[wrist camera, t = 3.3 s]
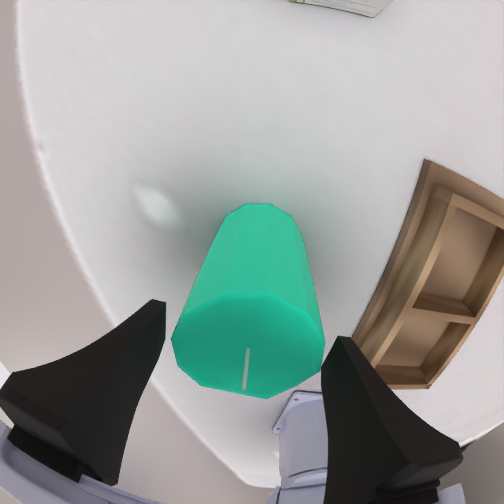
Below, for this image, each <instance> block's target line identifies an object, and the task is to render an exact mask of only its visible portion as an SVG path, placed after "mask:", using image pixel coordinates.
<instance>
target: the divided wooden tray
mask: <svg viewBox="0 0 504 504" xmlns="http://www.w3.org/2000/svg"><path fill="white" fill-rule="evenodd" d="M503 275H504V200H503V199H501V198H500V197H498V196H496V195H495V194H493V193H491V192H490V191H488V190H486V189H484V188H483V187H481V186H479V185H477V184H475V183H474V182H472V181H470V180H468V179H466V178H464V177H462V176H460V175H459V174H457V173H455V172H453V171H451V170H449V169H447V168H444V167H442V166H440V165H438V164H436V163H434V162H432V161H429V160H426V159H424V163H423V166H422V170H421V173H420V177H419V180H418V183H417V186H416V189H415V192H414V196H413V199H412V201H411V204H410V207H409V210H408V213H407V216H406V219H405V221H404V224H403V227H402V229H401V232H400V235H399V237H398V240H397V242H396V245H395V247H394V250H393V252H392V255H391V257H390V259H389V262H388V264H387V266H386V269H385V271H384V273H383V276H382V278H381V280H380V282H379V284H378V287H377V289H376V291H375V293H374V295H373V297H372V299H371V301H370V303H369V305H368V307H367V309H366V311H365V313H364V315H363V317H362V319H361V321H360V323H359V325H358V327H357V329H356V331H355V333H354V335H353V336H352V340H353V341H354V342H355V343H356V345H357V346H358V348H359V349H360V350H361V352H362V353H363V354H364V356H365V357H366V358H367V360H368V361H369V363H370V364H371V365H372V367H373V368H374V369H375V371H376V372H377V373H378V375H379V376H380V377H381V378H382V380H383V381H384V382H385V383H386V384H387V386H388V387H389V388H390V389H429V388H430V386H431V385H432V384H433V383H434V382H435V380H436V379H437V378H438V377H439V376H440V374H441V373H442V372H443V371H444V369H445V368H446V367H447V365H448V364H449V363H450V361H451V360H452V359H453V357H454V356H455V355H456V353H457V352H458V351H459V349H460V348H461V346H462V345H463V344H464V342H465V341H466V339H467V338H468V336H469V335H470V333H471V332H472V330H473V329H474V327H475V325H476V324H477V322H478V321H479V319H480V317H481V316H482V314H483V312H484V311H485V309H486V307H487V306H488V304H489V302H490V300H491V298H492V297H493V295H494V293H495V291H496V289H497V287H498V285H499V283H500V281H501V279H502V277H503Z"/></svg>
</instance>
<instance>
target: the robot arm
mask: <svg viewBox="0 0 504 504" xmlns="http://www.w3.org/2000/svg"><path fill="white" fill-rule="evenodd" d="M165 334H166V302H162V301H158V300H154V299H151V300H150V301H149V302H147V303H146V304H145V305H144V306H143V307H141V308H140V309H139V310H138V311H136V312H135V313H134V314H133V315H131V316H130V317H129V318H128V319H126V320H125V321H124V322H122V323H121V324H120V325H118V326H117V327H116V328H114V329H113V330H112V331H110V332H109V333H107V334H106V335H104V336H103V337H101V338H100V339H98V340H96V341H95V342H93V343H91V344H90V345H88V346H86V347H85V348H83V349H81V350H79V351H77V352H74V353H73V354H70V355H68V356H66V357H63V358H61V359H59V360H56V361H54V362H51V363H48V364H45V365H41V366H38V367H35V368H31V369H26V370H22V371H17V372H13V373H12V374H11V375H10V376H9V378H8V379H7V380H6V382H5V383H4V385H3V386H2V388H1V389H0V407H1V408H2V410H3V411H4V412H5V413H6V415H7V416H8V417H9V418H10V419H11V421H12V422H13V423H14V424H15V425H14V427H13V428H12V429H11V428H10V427H8V426H7V425H6V424H5V423H3V422H2V421H1V420H0V488H1V489H2V490H4V491H5V492H6V493H7V494H9V495H10V496H11V497H12V498H14V499H15V500H16V501H17V502H19V503H20V504H164V503H160V502H156V501H153V500H149V499H146V498H143V497H139V496H137V495H133V494H131V493H128V492H125V491H122V490H120V489H117V488H114V487H112V486H113V485H116V484H117V483H118V478H119V473H120V468H121V462H122V458H123V454H124V449H125V445H126V441H127V438H128V434H129V430H130V427H131V424H132V420H133V417H134V414H135V411H136V407H137V405H138V402H139V400H140V397H141V395H142V393H143V391H144V389H145V387H146V384H147V382H148V380H149V378H150V376H151V374H152V372H153V370H154V367H155V365H156V363H157V361H158V359H159V356H160V353H161V350H162V347H163V344H164V341H165ZM321 389H322V394H317V393H306V392H295V393H294V394H293V395H292V397H291V399H290V400H289V402H288V404H287V406H286V407H285V409H284V411H283V413H282V414H281V416H280V418H279V419H278V421H277V423H276V425H275V426H274V428H273V429H272V432H273V433H274V434H280V456H279V471H280V476H281V478H282V479H281V486H277V487H275V488H274V490H273V491H272V492H271V493H270V495H269V497H268V501H267V504H466V503H465V498H464V495H463V490H462V486H461V484H460V483H459V484H456V485H454V486H451V487H448V488H446V489H443V490H441V491H439V492H437V489H436V487H438V486H439V485H440V481H439V478H441V477H442V476H444V475H445V474H447V473H448V472H450V471H451V470H453V469H454V468H455V467H457V466H458V465H459V464H460V463H461V462H462V460H463V456H462V452H461V449H460V446H459V443H458V442H456V441H455V440H453V439H451V438H449V437H447V436H446V435H444V434H442V433H441V432H439V431H437V430H436V429H435V428H433V427H432V426H430V425H429V424H427V423H426V422H425V421H423V420H422V419H421V418H420V417H419V416H417V415H416V414H415V413H414V412H413V411H412V410H410V409H409V408H408V407H407V406H406V405H405V404H404V403H403V402H402V401H401V400H400V399H399V398H398V397H397V396H396V395H395V394H394V393H393V391H392V390H391V389H390V388H389V387H388V386H387V384H386V383H385V382H384V381H383V380H382V378H381V377H380V376H379V375H378V373H377V372H376V371H375V369H374V368H373V367H372V365H371V364H370V363H369V361H368V360H367V358H366V357H365V356H364V354H363V353H362V352H361V350H360V349H359V348H358V346H357V345H356V343H355V342H354V341H353V340H352V338H351V337H344V336H337V338H336V340H335V342H334V344H333V346H332V348H331V350H330V352H329V354H328V356H327V357H326V359H325V361H324V363H323V365H322V366H321Z"/></svg>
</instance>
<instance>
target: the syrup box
mask: <svg viewBox="0 0 504 504" xmlns="http://www.w3.org/2000/svg"><path fill="white" fill-rule="evenodd" d="M290 1H293V2H301V3H307V4H314V5H320V6H325V7H330V8H336V9H340V10H345V11H349V12H354V13H358V14H362V15H366V16H369V17H375V16H376V15H377V14H378V13H379V12H381V11H382V10H383V9H384V8H385V7H386V6H388V5H389V4H390V3H391V2H393V1H394V0H290Z"/></svg>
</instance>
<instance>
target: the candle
mask: <svg viewBox="0 0 504 504" xmlns="http://www.w3.org/2000/svg"><path fill="white" fill-rule="evenodd" d="M171 341H172V345H173V349H174V353H175V357H176V361H177V365H178V367H179V368H181V369H182V370H183V371H184V372H185V373H186V374H187V375H189V376H190V377H191V378H192V379H193V380H195V381H196V382H197V383H198V384H199V385H201V386H204V387H209V388H214V389H219V390H224V391H229V392H235V393H239V394H244V395H248V396H253V397H258V398H263V399H268V398H270V397H273V396H275V395H277V394H279V393H281V392H284V391H286V390H288V389H290V388H292V387H294V386H297V385H298V384H300V383H302V382H303V381H305V380H306V379H308V378H310V377H311V376H313V375H314V374H316V373H317V372H319V371H320V369H321V363H322V358H323V353H324V347H325V338H324V332H323V327H322V323H321V318H320V313H319V308H318V303H317V299H316V294H315V290H314V285H313V281H312V276H311V272H310V267H309V263H308V259H307V255H306V251H305V246H304V242H303V238H302V234H301V232H300V231H299V229H298V227H297V225H296V224H295V222H294V220H293V218H292V217H291V215H289V214H288V213H286V212H284V211H282V210H281V209H279V208H277V207H275V206H273V205H272V204H245V205H244V206H242V207H240V208H238V209H237V210H235V211H233V212H231V213H230V214H228V215H227V216H226V218H225V219H224V221H223V223H222V225H221V227H220V229H219V230H218V232H217V234H216V236H215V239H214V241H213V243H212V245H211V247H210V250H209V252H208V254H207V256H206V258H205V261H204V263H203V265H202V267H201V270H200V272H199V274H198V276H197V279H196V281H195V283H194V285H193V288H192V290H191V292H190V295H189V297H188V299H187V301H186V304H185V306H184V308H183V311H182V313H181V316H180V318H179V320H178V323H177V325H176V327H175V330H174V332H173V335H172V337H171Z"/></svg>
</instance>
